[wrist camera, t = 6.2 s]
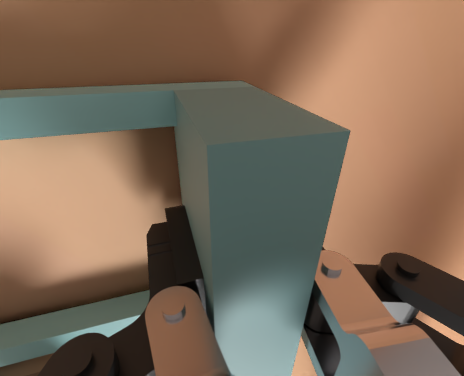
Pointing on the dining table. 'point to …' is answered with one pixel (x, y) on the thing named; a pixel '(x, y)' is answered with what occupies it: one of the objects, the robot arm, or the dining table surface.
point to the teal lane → (208, 208)
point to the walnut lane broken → (25, 367)
